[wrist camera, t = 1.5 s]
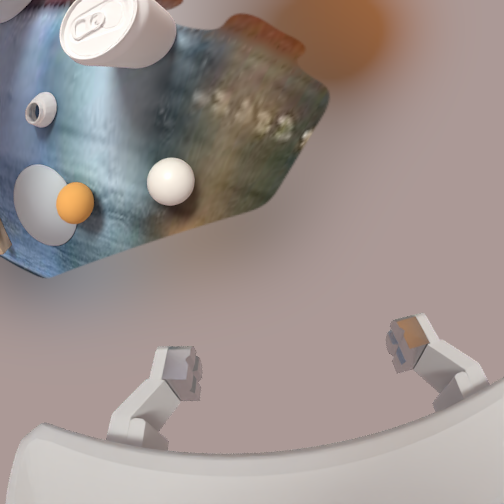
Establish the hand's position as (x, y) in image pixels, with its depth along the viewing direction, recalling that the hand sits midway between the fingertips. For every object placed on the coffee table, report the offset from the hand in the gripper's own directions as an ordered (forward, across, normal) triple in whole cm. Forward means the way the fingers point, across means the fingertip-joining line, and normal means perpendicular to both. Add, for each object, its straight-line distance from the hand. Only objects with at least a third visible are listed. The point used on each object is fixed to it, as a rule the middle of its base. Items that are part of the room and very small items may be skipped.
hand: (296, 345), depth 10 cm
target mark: (+25, +33, -1) cm, 42 cm away
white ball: (+23, +10, 0) cm, 25 cm away
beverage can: (+25, +11, -18) cm, 33 cm away
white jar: (+25, +27, -15) cm, 40 cm away
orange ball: (+22, +24, -1) cm, 33 cm away
